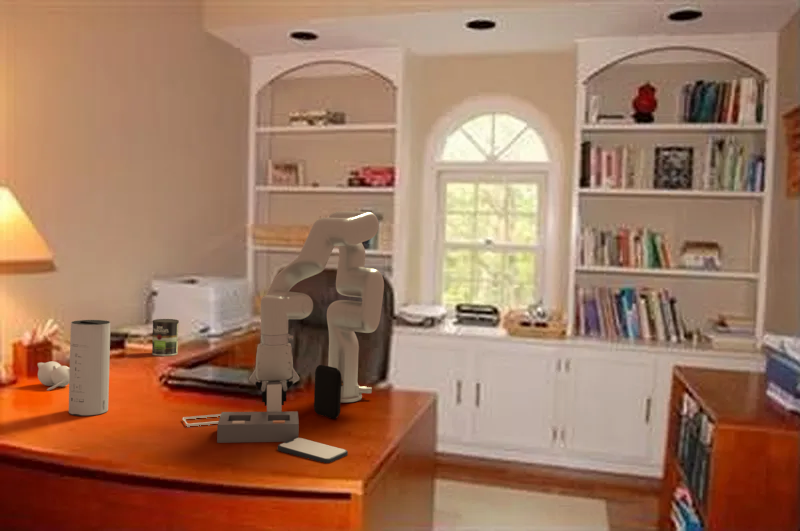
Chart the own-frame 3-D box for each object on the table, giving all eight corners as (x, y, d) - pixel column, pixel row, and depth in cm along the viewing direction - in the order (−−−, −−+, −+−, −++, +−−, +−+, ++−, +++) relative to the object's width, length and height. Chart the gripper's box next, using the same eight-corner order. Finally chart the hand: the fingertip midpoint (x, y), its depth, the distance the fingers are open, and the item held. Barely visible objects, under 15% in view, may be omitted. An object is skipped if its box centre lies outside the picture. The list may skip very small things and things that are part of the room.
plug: (281, 408, 193) (281, 378, 192) (281, 412, 189) (281, 382, 188) (267, 409, 192) (267, 379, 192) (266, 413, 188) (266, 382, 188)
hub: (297, 427, 185) (297, 410, 184) (298, 441, 173) (298, 422, 173) (221, 428, 181) (221, 410, 181) (217, 442, 169) (217, 423, 169)
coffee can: (170, 357, 278) (171, 322, 277) (147, 355, 279) (147, 321, 279) (182, 352, 288) (183, 319, 287) (159, 351, 289) (160, 318, 289)
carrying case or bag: (344, 419, 194) (346, 368, 194) (337, 421, 192) (339, 370, 191) (318, 412, 201) (320, 363, 200) (311, 414, 199) (312, 364, 198)
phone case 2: (349, 456, 165) (298, 442, 173) (350, 450, 165) (298, 436, 173) (327, 466, 157) (274, 451, 165) (327, 460, 157) (275, 445, 165)
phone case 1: (236, 417, 195) (181, 422, 188) (236, 412, 195) (182, 417, 188) (242, 423, 188) (186, 429, 181) (242, 419, 188) (187, 424, 181)
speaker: (117, 410, 195) (118, 320, 194) (86, 418, 186) (88, 323, 185) (90, 405, 200) (92, 316, 199) (59, 413, 190) (61, 320, 189)
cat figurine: (72, 358, 220) (45, 353, 224) (48, 381, 212) (20, 375, 216) (83, 378, 224) (56, 373, 229) (60, 401, 216) (32, 395, 221)
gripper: (304, 336, 194) (304, 399, 196) (244, 337, 191) (244, 401, 193) (305, 341, 187) (304, 407, 188) (242, 342, 184) (242, 409, 185)
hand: (274, 403), depth 191 cm, fingers closed on plug, 4 cm apart
